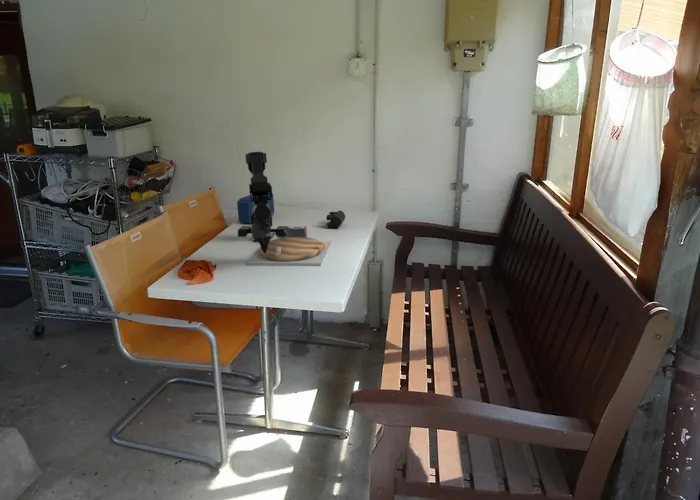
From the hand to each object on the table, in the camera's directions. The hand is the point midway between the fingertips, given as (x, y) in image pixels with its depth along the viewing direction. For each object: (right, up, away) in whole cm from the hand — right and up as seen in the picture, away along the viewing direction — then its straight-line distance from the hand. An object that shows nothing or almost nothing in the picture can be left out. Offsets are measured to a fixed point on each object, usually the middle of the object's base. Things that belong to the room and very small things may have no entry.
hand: (265, 252), depth 210 cm
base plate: (+9, 0, +11) cm, 14 cm away
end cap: (+26, +12, +48) cm, 56 cm away
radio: (-14, +16, +64) cm, 68 cm away
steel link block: (+9, +6, +31) cm, 33 cm away
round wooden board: (+9, +1, +11) cm, 14 cm away
